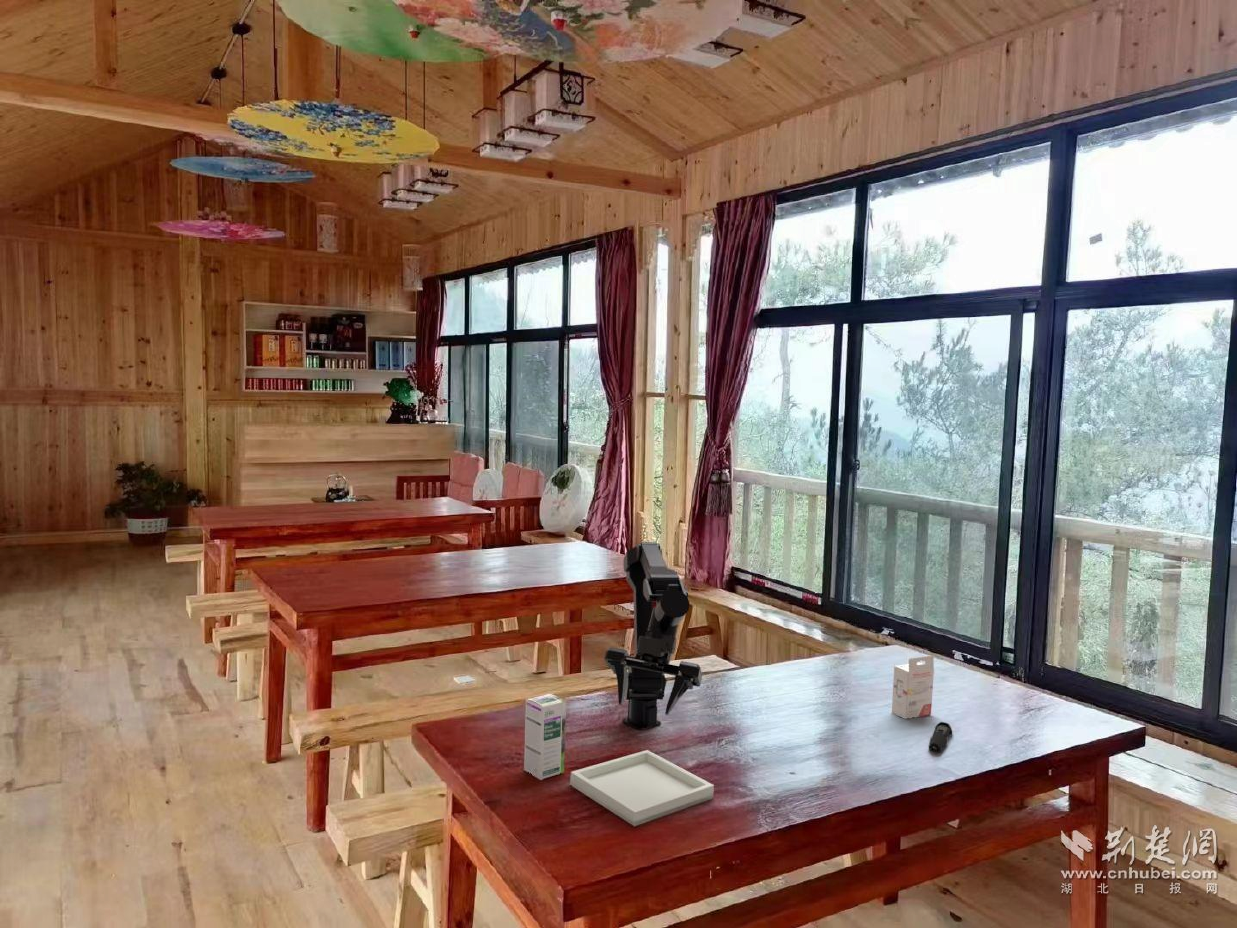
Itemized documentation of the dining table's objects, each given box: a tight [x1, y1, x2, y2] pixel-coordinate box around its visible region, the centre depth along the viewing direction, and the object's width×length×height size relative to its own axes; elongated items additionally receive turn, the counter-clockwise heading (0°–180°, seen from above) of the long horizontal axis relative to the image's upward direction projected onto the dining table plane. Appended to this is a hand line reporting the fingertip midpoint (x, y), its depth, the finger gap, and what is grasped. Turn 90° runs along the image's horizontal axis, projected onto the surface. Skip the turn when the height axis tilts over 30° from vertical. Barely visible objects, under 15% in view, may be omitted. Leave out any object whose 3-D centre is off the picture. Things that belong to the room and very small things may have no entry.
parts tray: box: [569, 749, 715, 827], centre depth 163 cm, size 19×19×2 cm
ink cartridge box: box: [891, 655, 935, 720], centre depth 211 cm, size 9×5×15 cm, turn 117°
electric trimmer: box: [928, 721, 953, 753], centre depth 194 cm, size 4×16×3 cm, turn 151°
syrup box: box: [523, 693, 567, 781], centre depth 170 cm, size 6×6×14 cm
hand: (643, 709), depth 166 cm, fingers open, 9 cm apart
